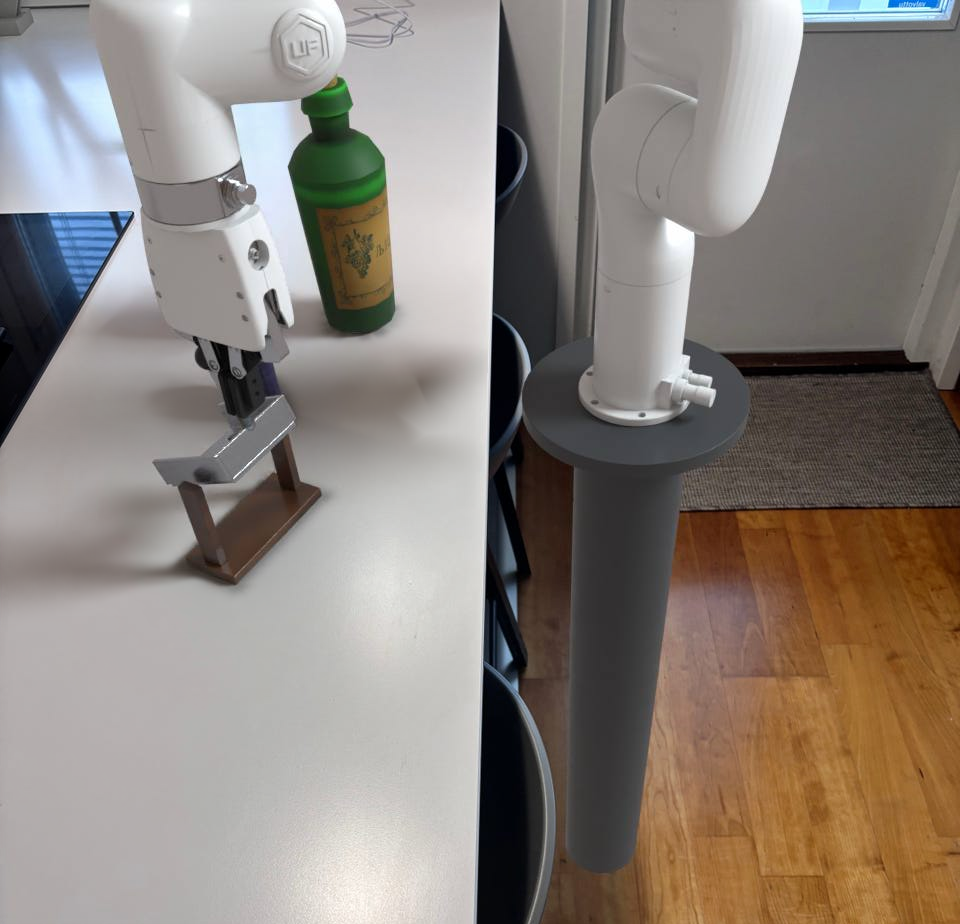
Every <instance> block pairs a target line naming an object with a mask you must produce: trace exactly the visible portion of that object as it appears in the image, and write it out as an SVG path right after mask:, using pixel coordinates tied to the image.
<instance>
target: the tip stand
mask: <svg viewBox="0 0 960 924" xmlns="http://www.w3.org/2000/svg"><path fill="white" fill-rule="evenodd" d="M289 433H290V432H289ZM289 433H288V434H287V435H286V436H285V437H284V438H283V439H282V440H281V441H280V442H279V443H277V444H276V445H275V446H274V447H273V448H272V449H271V450H270V454H271V457H272V461H273V464H274V468H275V472H274V471H272V472H271V473H270V474H269V475H268V476H267V477H266V478H265V479H264V480H263V481H262V482H260V483H259V485H257V487H256V488H255V489H253V490H252V491H251V493H250V494H249V495H247V496H246V498H245V499H244V500H242V502H240V503H239V504H238V505H237V506H236V507H235V508H234V509H233V510H232V511H231V512H230V513H229V514H228V515H227V516H226V517H225V518H224V519H223V520H222V521H221V522H219V524H217V526H216V524H215V521H214V518H213V516H212V512H211V510H210V507H209V504H208V501H207V498H206V495H205V493H204V490H203V487H202V485H196V484H193V483H190V482H188V481H183V482H182V483H181V484H180V485H179V486H177V489H178V493H179V495H180V498H181V501H182V503H183V506H184V508H185V512H186V514H187V517H188V520H189V523H190V525H191V528H192V531H193V533H194V536H195V538H196V542H197V545H196V546H195V547H194V548H193V549H192V550H191V551H190V552H189V553H188V554H187V555H185V556H184V560H185V562H186V565H187V566H189V567H191V568H195V569H196V570H199V571H202V572H204V573H207V574H209V575H212V576H214V577H216V578H220V579H222V580H224V581H228V582H230V583H232V584H234V585H238V584H239V583H240V582H241V581H242V579H243V578H244V577H245V576H246V575H248V574H249V572H250V571H251V570H252V569H253V568H254V567H255V566H256V565H257V564H258V563H259V562H260V561H261V560H262V559H263V558H264V557H265V556H266V555H267V554H268V553H269V552H270V550H272V548H273V547H274V546H275V545H276V544H277V543H278V542H279V541H280V540H281V539H282V538H283V537H284V536H285V535H286V534H287V533H288V532H289V531H290V530H291V529H292V528H293V526H294V525H296V523H297V522H298V521H300V520H301V518H302V517H303V516H304V515H305V514H306V513H307V512H308V511H309V510H310V509H311V508H312V507H313V506H314V505H315V504H316V502H318V500H319V499H320V498H321V497H322V496H323V493H322V489H321V487H319V486H315V485H312V484H309V483H306V482H304V481H303V482H302V481H301V477H300V475H299V471H298V466H297V463H296V458H295V454H294V450H293V446H292V441H291V438H290V434H289Z"/></svg>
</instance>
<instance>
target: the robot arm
mask: <svg viewBox="0 0 960 924" xmlns="http://www.w3.org/2000/svg"><path fill="white" fill-rule="evenodd" d="M88 7H89V8H88V21H89V25H90V29H91V34H92V37H93V41H94V44H95V48H96V51H97V55H98V58H99V62H100V65H101V69H102V72H103V76H104V80H105V83H106V86H107V90H108V93H109V96H110V98H111V99H110V100H111V103H112V106H113V109H114V110H113V111H114V113H115V117H116V121H117V124H118V128H119V132H120V135H121V139H122V142H123V146H124V149H125V152H126V156H127V160H128V163H129V166H130V170H131V173H132V177H133V180H134V184H135V187H136V190H137V193H138V194H137V195H138V197H139V200H140V205H141V206H140V209H139V210H140V211H139V213H140V224H141V234H142V240H143V245H144V252H145V257H146V263H147V267H148V271H149V275H150V279H151V283H152V287H153V290H154V295H155V297H156V301H157V304H158V306H159V309H160V310H159V311H160V312H161V314H162V316H163V319H164V321H165V323H166V324H167V325H169V327H171V328H172V329H173V330H174V332H175V333H176V334H177V335H179V336H181V337H183V338H185V339H187V340H189V341H191V342H193V343H194V344H195V346H196V347H198V348H199V349H200V350H201V351H202V352H203V353H204V356H205V358H206V361H207V364H208V366H209V367H210V369H211V370H213V371H214V372H218V374H217V376H218V380H219V383H220V387H221V391H222V393H221V395H222V399H223V403H224V402H225V406H226V410H227V413H228V414H229V415H233V416H235V415H237V416H238V417H239V418H242V419H246V418H247V417H248V416H249V415H250V414H252V413H253V412H254V411H255V410H256V409H257V408H259V407H260V406H261V405H262V404H263V403H264V402H265V394H264V390H263V385H262V381H261V377H260V372H259V368H258V365H259V364H260V363H261V362H264V363H273V364H279V363H281V362H282V361H283V360H284V359H286V358H287V357H288V356H289V355H290V350H289V346H288V344H287V341H286V339H285V336H284V333H283V332H282V330H288V329H290V328H292V327H293V326H294V324H295V317H294V316H295V315H294V309H293V304H292V299H291V294H290V292H289V287H288V284H287V279H286V275H285V271H284V268H283V265H282V261H281V257H280V254H279V251H278V248H277V245H276V242H275V240H274V236H273V234H272V230H271V229H270V226H269V223H268V221H267V219H266V216H265V214H264V212H263V210H262V208H261V206H260V205H259V204H257V203H256V200H257V189H256V187H255V185H253V184H251V183H248V182H247V178H246V173H245V168H244V163H243V159H242V153H241V148H240V143H239V139H238V134H237V129H236V124H235V119H234V114H233V109H232V106H234V105H247V104H249V105H250V104H265V103H266V104H268V103H284V102H293V101H297V100H301V99H302V98H305V97H308V96H310V95H312V94H314V93H316V92H318V91H320V90H321V89H323V88H324V87H325V86H326V85H328V84H329V83H330V81H331V80H332V79H333V78H334V77H335V75H336V74H337V75H338V73H339V70H340V68H341V66H342V65H343V62H344V59H345V55H346V50H347V30H346V24H345V20H344V17H343V14H342V12H341V10H340V7H339V5H338V3H337V2H336V0H90V3H89V6H88ZM622 35H623V41H624V45H625V47H626V49H627V51H628V53H629V56H631V57H632V58H633V59H634V60H635V62H638V64H640V65H642V66H643V67H645V68H646V69H648V70H650V71H652V72H653V73H656V74H659V75H661V76H662V77H665V78H668V79H670V80H673V81H675V82H678V83H680V84H682V85H685V86H687V87H689V88H692V89H694V90H696V91H697V98H695V97H693V96H691V95H687V94H685V93H683V92H680V91H678V90H675V89H673V88H671V87H667V86H664V85H661V84H656V83H655V84H654V83H645V82H644V83H636V84H631V85H629V86H627V87H624V88H622V89H620V90H618V92H616V93H614V94H613V95H612V96H611V97H610V98H609V99H608V100H607V101H606V103H605V104H603V106H602V109H601V110H600V112H599V113H598V116H597V117H596V120H595V122H594V126H593V129H592V134H591V140H590V168H591V175H592V181H593V188H594V194H595V202H596V210H597V260H596V278H595V279H596V282H595V308H594V334H593V336H594V358H593V365H592V366H591V367H589V368H588V369H587V370H586V371H585V372H584V373H583V375H582V376H581V378H580V381H579V390H578V393H579V399H580V401H581V403H582V405H583V406H584V407H585V408H586V410H587V411H589V412H590V413H591V414H593V415H594V416H596V417H598V418H600V419H602V420H604V421H607V422H610V423H613V424H618V425H622V426H633V427H635V426H649V425H656V424H659V423H663V422H666V421H668V420H670V419H673V418H675V417H676V416H678V415H679V414H681V413H682V412H683V411H684V410H685V409H686V408H687V407H688V405H689V403H690V402H694V403H695V404H699V405H703V406H707V407H711V406H712V404H713V402H714V399H715V395H716V390H715V389H711V388H710V387H711V384H712V377H709V376H705V375H698V374H694V373H693V372H692V370H689V361H690V356H687V355H683V354H682V351H683V342H684V339H685V332H686V324H687V314H688V306H689V297H690V289H691V280H692V272H693V266H694V258H695V244H696V243H695V242H696V241H695V240H696V239H695V234H696V235H698V236H703V237H705V238H706V237H708V238H719V237H720V238H721V237H725V236H727V235H730V234H732V233H735V231H737V230H739V229H740V228H741V227H742V226H743V225H744V224H745V223H746V222H747V221H748V220H749V219H750V218H751V216H752V215H753V213H754V212H755V210H756V209H757V207H758V206H759V204H760V202H761V201H762V198H763V195H764V193H765V190H766V188H767V185H768V182H769V180H770V176H771V173H772V170H773V166H774V162H775V158H776V155H777V150H778V146H779V143H780V138H781V135H782V130H783V127H784V123H785V117H786V114H787V110H788V105H789V102H790V97H791V93H792V90H793V85H794V81H795V78H796V77H795V76H796V73H797V70H798V69H797V68H798V65H799V60H800V55H801V50H802V45H803V38H804V11H803V5H802V0H624V8H623V18H622ZM244 350H247V351H246V352H245V351H244ZM221 391H220V392H221Z"/></svg>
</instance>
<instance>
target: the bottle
mask: <svg viewBox="0 0 960 924" xmlns="http://www.w3.org/2000/svg"><path fill="white" fill-rule="evenodd" d="M352 107H354V102H353V99H352V96H351V93H350V90H349V87H348V84H347V82H346V80H345V79H344V77H341V76H338V73H337V74H336V75H335V77H334V78H333V79H332V80H331V81H330V83H329V84H328V85H326V86H325V87H324V88H323V89H321V90H320V91H318V92H316V93H314V94H312V95H310V96H308V97H305V98H302V99H300V111H301V112H302V113H303V115H305V116H307V118H308V121H309V125H310V129H311V132H310V133H308V134H307V135H306V136H305V137H304V138H303V139H301V140H300V141H299V143H298V144H297V146H296V147H295V148H294V150H293V152H292V154H291V157H290V160H289V162H288V163H287V164H288V165H287V170H288V174H289V178H290V183H291V186H292V190H293V193H294V198H295V202H296V205H297V209H298V213H299V217H300V221H301V225H302V229H303V233H304V237H305V241H306V244H307V250H308V253H309V256H310V260H311V264H312V268H313V271H314V272H313V273H314V276H315V281H316V284H317V288H318V292H319V296H320V300H321V303H322V307H323V311H324V316H325V319H326V321H327V322H328V325H329V326H330V327H331V328H333V329H334V330H335V329H336V330H338V331H340V332H341V333H352V334H353V333H354V334H364V333H367V332H371V331H376V330H378V329H380V328H382V327H383V326H386V325H387V324H388V323H390V322H391V321H393V318H394V315H395V313H396V299H395V285H394V270H393V269H394V268H393V256H392V255H393V254H392V242H391V228H390V214H389V200H388V199H389V197H388V186H387V185H388V184H387V183H388V182H387V172H386V169H387V168H386V157H385V156H384V155H383V154H382V151H381V150H380V148H378V147H377V145H376V144H375V142H373V140H372V138H371V137H370V136H369V135H367V134H365V133H364V132H361V131H359V130H357V129H355V128H351V127H350V110H351V109H352Z"/></svg>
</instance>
